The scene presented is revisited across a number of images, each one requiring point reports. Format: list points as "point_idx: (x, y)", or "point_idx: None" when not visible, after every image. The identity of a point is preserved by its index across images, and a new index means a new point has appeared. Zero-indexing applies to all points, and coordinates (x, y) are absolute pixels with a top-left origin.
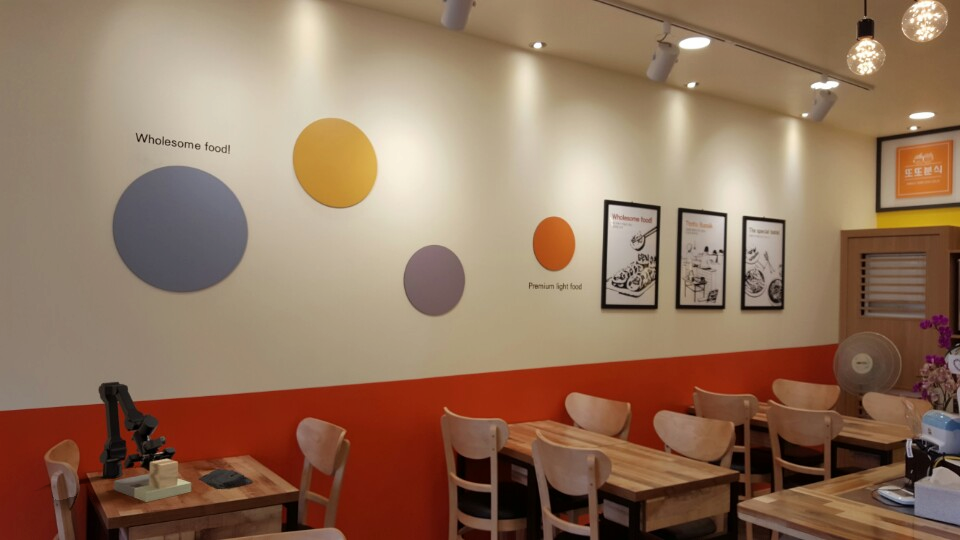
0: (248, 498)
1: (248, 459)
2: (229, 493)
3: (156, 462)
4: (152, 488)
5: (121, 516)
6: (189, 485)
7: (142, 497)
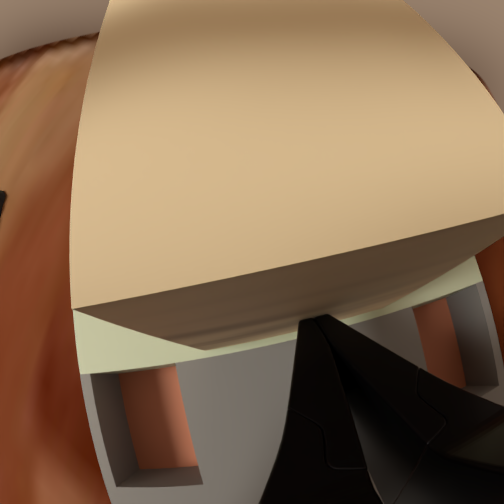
0: (46, 50)
1: None
2: (28, 112)
3: (435, 75)
4: None
5: None
6: None
7: None
